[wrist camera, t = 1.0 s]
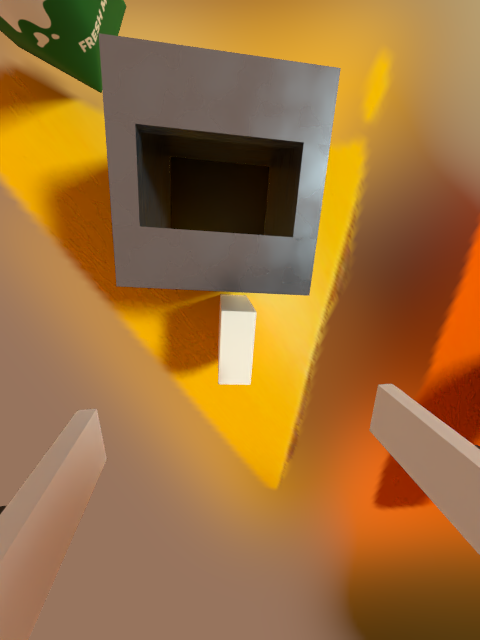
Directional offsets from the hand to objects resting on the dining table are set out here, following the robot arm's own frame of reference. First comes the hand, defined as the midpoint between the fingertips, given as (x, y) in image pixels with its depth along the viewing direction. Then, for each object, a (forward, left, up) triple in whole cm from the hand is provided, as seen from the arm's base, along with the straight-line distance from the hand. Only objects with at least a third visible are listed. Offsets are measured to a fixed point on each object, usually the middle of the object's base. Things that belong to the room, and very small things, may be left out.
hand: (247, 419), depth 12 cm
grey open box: (+2, -11, -19) cm, 22 cm away
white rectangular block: (0, +1, -19) cm, 19 cm away
